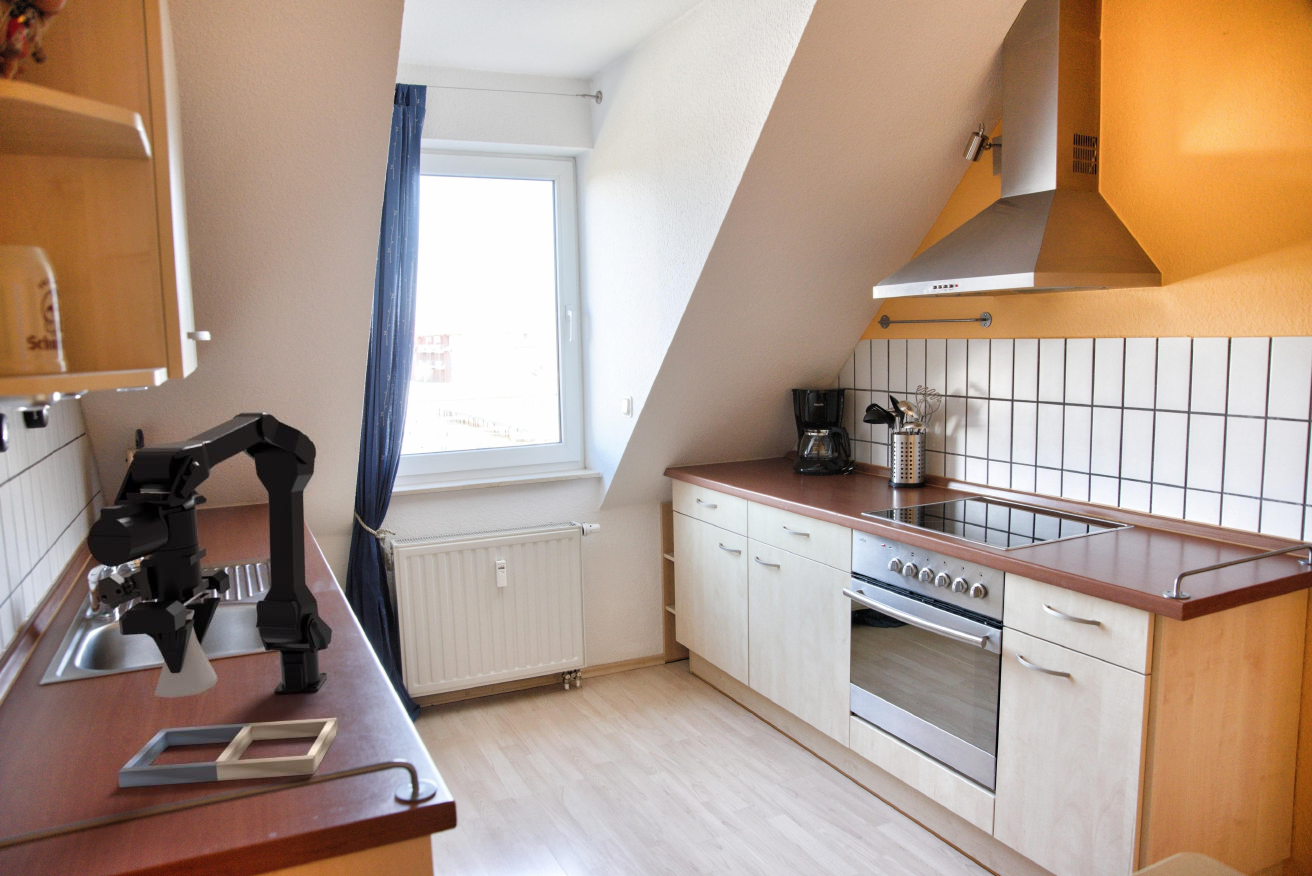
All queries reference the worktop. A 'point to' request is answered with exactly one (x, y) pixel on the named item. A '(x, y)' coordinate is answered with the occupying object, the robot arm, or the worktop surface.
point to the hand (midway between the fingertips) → (184, 664)
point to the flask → (188, 672)
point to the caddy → (229, 753)
